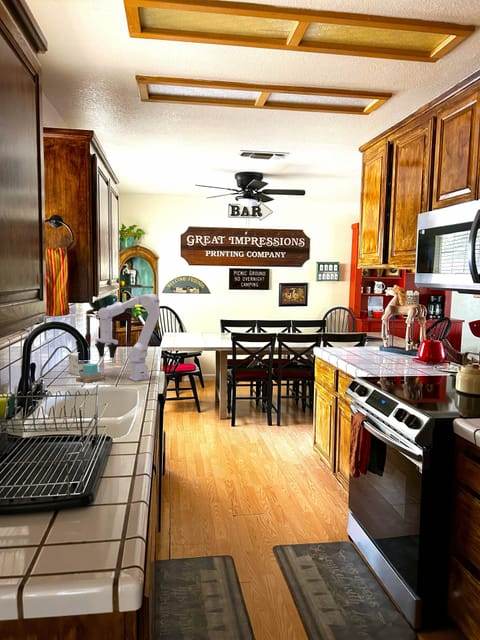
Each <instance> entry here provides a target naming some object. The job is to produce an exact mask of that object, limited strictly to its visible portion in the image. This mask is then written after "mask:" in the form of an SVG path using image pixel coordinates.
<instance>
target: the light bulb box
mask: <svg viewBox="0 0 480 640" xmlns="http://www.w3.org/2000/svg"><path fill="white" fill-rule="evenodd" d="M78 353H79V352H73V353H72V352H69V353H68V355H67V356H68V373H69V374H72V375H76V376H80V373H81V372H83V365H85V364H89V363H90V360H89V361H79V360H78Z"/></svg>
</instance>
